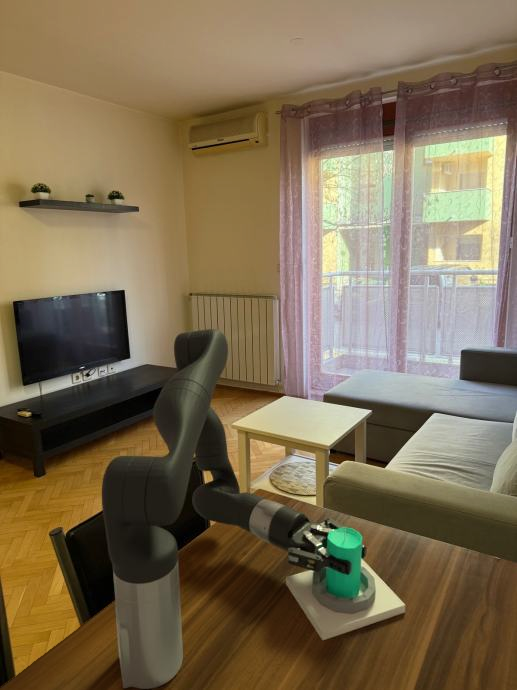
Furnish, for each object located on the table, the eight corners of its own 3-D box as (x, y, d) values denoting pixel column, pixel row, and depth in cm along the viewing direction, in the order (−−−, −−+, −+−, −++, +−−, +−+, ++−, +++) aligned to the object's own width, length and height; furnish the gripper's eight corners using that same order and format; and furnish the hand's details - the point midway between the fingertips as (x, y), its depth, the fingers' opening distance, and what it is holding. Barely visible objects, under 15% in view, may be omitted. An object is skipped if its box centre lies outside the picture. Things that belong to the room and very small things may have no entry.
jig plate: (322, 640, 77) (322, 621, 76) (286, 584, 89) (286, 567, 89) (404, 612, 82) (405, 594, 82) (359, 563, 95) (360, 547, 94)
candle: (357, 578, 88) (360, 520, 86) (361, 602, 82) (364, 540, 80) (325, 576, 89) (327, 518, 86) (326, 600, 83) (328, 538, 80)
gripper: (255, 524, 87) (338, 563, 76) (299, 492, 97) (377, 522, 87) (255, 560, 88) (336, 603, 78) (298, 525, 99) (375, 558, 89)
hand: (357, 560), depth 83 cm, fingers closed on candle, 5 cm apart
